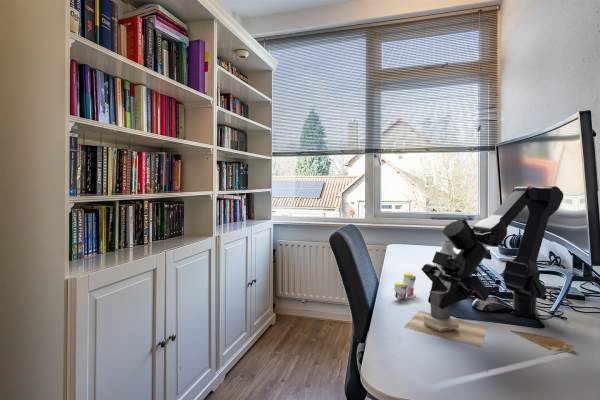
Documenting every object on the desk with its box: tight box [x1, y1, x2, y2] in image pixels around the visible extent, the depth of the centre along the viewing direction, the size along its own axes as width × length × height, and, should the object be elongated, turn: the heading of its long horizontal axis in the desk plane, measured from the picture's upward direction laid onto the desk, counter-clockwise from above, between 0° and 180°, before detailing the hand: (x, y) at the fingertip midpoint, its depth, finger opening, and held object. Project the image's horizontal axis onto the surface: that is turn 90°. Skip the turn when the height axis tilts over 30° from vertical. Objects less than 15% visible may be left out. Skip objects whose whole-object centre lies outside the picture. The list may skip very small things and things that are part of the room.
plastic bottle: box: [437, 240, 457, 292], centre depth 106 cm, size 6×7×20 cm
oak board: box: [403, 310, 489, 348], centre depth 85 cm, size 14×18×1 cm
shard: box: [509, 329, 575, 355], centre depth 78 cm, size 11×8×2 cm
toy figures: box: [393, 272, 417, 301], centre depth 109 cm, size 12×4×8 cm, turn 134°
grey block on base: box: [424, 290, 459, 332], centre depth 85 cm, size 6×6×9 cm
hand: (434, 305), depth 85 cm, fingers open, 4 cm apart
